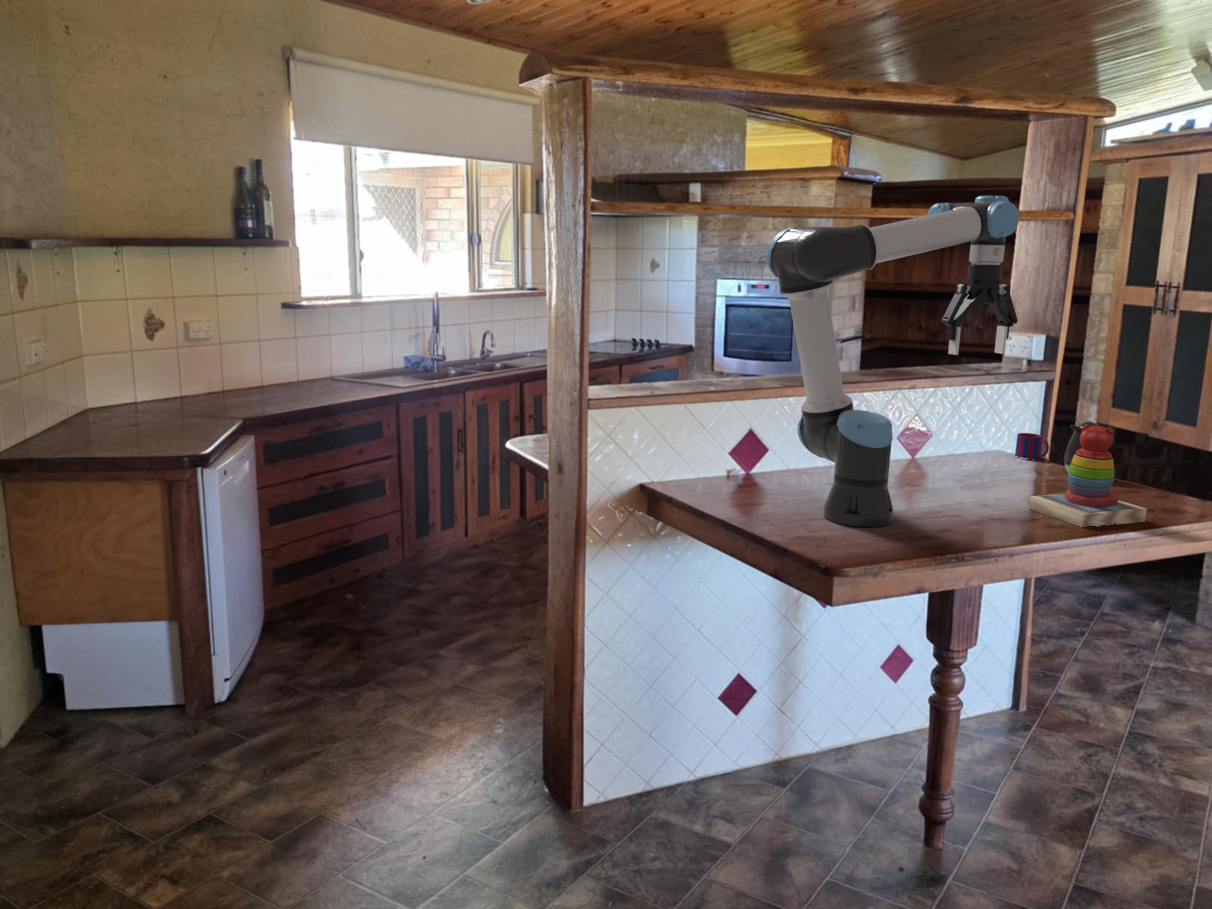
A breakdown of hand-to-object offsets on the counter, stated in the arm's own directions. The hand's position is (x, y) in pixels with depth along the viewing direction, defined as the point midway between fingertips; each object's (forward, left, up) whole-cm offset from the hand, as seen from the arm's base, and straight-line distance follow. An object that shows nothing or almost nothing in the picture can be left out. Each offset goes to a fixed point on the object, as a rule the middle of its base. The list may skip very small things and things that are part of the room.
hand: (976, 353), depth 230 cm
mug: (+47, +28, -35) cm, 65 cm away
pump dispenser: (+44, +6, -35) cm, 56 cm away
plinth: (+15, -24, -35) cm, 45 cm away
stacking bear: (+15, -24, -32) cm, 43 cm away
